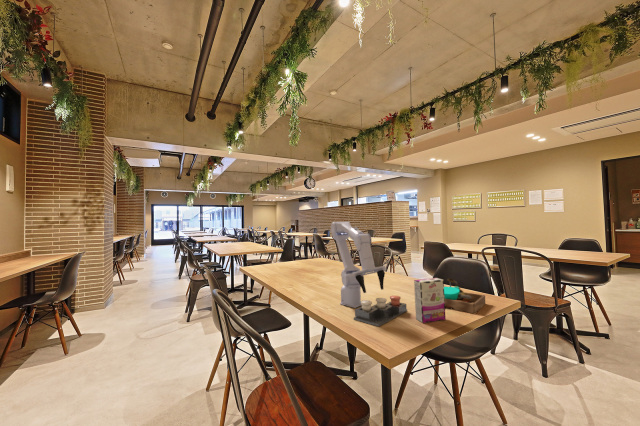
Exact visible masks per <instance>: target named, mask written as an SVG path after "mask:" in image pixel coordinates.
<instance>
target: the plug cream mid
mask: <svg viewBox="0 0 640 426" xmlns="http://www.w3.org/2000/svg"><path fill="white" fill-rule="evenodd" d="M375 302H376V304H377V308H381V309H384V308H386V304H387V298H384V297H376V298H375Z"/></svg>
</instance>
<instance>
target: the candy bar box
mask: <svg viewBox="0 0 640 426" xmlns="http://www.w3.org/2000/svg"><path fill="white" fill-rule="evenodd" d="M444 281H445V280H444V279H442V278H438V277H434V278H433V277H431V278H423V279H414V281H413V284H414V285H413V287H414V304H415V305H414V306H415V307H414V308H415V320H416V321H419V323H422V324H427V323H428V324H429V323H432V322H440V321H445V320H446V308H445V300H444V287H445V282H444Z"/></svg>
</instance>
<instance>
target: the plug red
mask: <svg viewBox="0 0 640 426" xmlns="http://www.w3.org/2000/svg"><path fill="white" fill-rule="evenodd" d="M389 299H390V302H391V305H393V306H399V305H400V303H401V302H400V301H401V296H399V295H390V296H389Z"/></svg>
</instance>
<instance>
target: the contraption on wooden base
mask: <svg viewBox="0 0 640 426" xmlns="http://www.w3.org/2000/svg"><path fill="white" fill-rule="evenodd" d="M447 281H448V283H449V286H444V299H450V300H456V301H461V302H467V303H472V302H471V301H470V300H468V299H471V296H468V295H465V294H464V292H465V291H463V290H462V289H461V287H460V286H459V284H458V281H456V280H455V279H453V278H447ZM452 283H453V284H454V286H452ZM466 298H467V299H466ZM445 309H448V310H454V308H452V307H451V306H449V305H447V306H445Z"/></svg>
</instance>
